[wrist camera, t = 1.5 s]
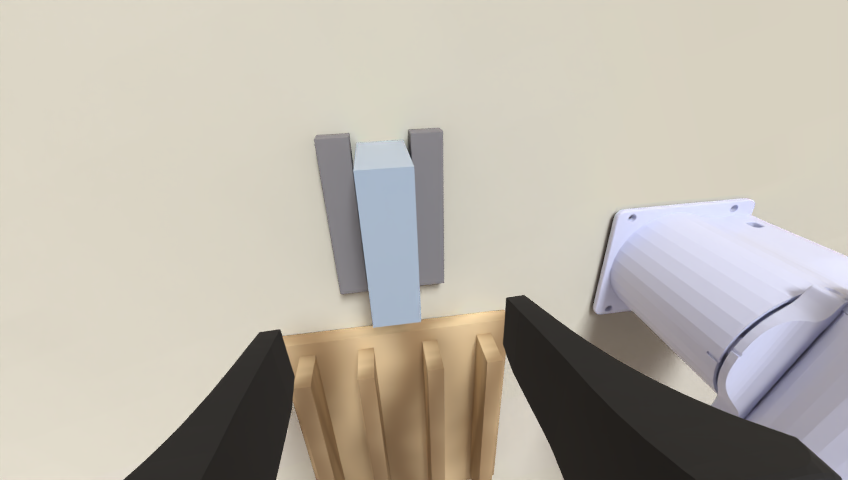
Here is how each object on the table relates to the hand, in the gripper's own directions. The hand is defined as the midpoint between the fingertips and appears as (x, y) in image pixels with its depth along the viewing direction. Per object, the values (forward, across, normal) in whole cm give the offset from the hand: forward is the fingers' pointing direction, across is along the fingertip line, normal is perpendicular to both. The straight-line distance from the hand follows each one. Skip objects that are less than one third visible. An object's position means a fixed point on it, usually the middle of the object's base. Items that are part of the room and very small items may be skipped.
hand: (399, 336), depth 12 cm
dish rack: (+10, 0, +17) cm, 20 cm away
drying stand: (+10, 0, 0) cm, 10 cm away
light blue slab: (+10, 0, 0) cm, 10 cm away
